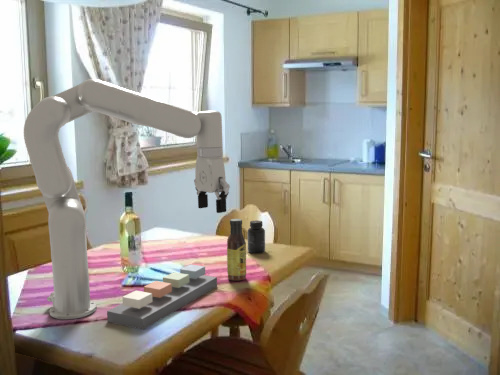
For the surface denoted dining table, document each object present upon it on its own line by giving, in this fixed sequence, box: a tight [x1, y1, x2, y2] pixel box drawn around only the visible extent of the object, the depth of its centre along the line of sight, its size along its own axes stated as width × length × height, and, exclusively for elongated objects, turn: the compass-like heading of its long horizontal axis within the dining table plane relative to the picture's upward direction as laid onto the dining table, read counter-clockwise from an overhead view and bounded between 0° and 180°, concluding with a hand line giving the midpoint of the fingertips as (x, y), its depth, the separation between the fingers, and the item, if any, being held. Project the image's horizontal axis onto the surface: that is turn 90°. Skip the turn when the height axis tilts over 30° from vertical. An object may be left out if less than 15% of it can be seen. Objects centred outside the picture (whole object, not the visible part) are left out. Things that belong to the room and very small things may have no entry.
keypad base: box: [106, 274, 218, 331], centre depth 160 cm, size 12×37×3 cm, turn 152°
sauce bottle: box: [226, 218, 247, 282], centre depth 179 cm, size 7×6×20 cm
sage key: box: [162, 272, 189, 288], centre depth 164 cm, size 6×6×2 cm
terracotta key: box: [143, 280, 172, 298], centre depth 156 cm, size 6×6×2 cm
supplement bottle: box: [247, 220, 266, 255], centre depth 212 cm, size 7×7×12 cm
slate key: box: [179, 264, 206, 279], centre depth 171 cm, size 6×6×2 cm
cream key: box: [122, 290, 152, 309], centre depth 148 cm, size 6×6×2 cm
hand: (212, 209), depth 164 cm, fingers open, 9 cm apart
